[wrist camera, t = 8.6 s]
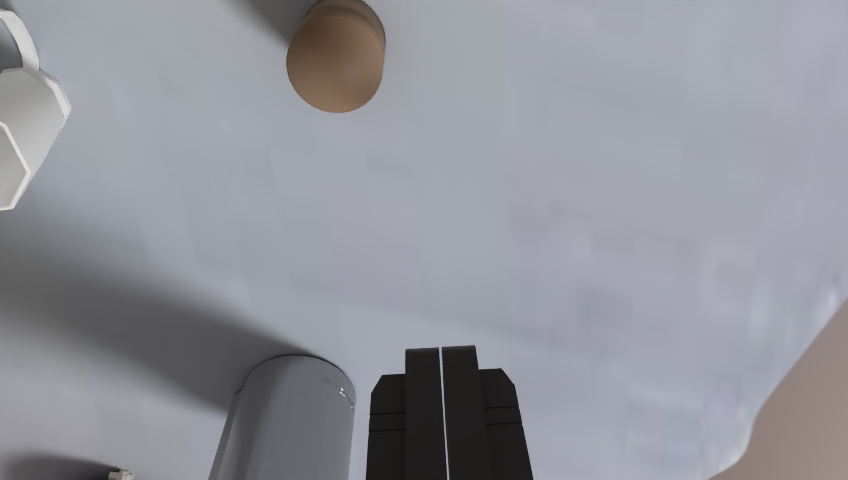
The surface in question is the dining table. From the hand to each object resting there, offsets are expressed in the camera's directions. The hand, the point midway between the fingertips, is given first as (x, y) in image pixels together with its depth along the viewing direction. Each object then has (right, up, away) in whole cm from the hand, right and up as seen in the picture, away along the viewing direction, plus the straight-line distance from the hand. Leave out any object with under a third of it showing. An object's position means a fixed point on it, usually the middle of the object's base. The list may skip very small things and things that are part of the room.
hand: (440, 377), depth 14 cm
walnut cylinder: (-5, +15, +24) cm, 29 cm away
